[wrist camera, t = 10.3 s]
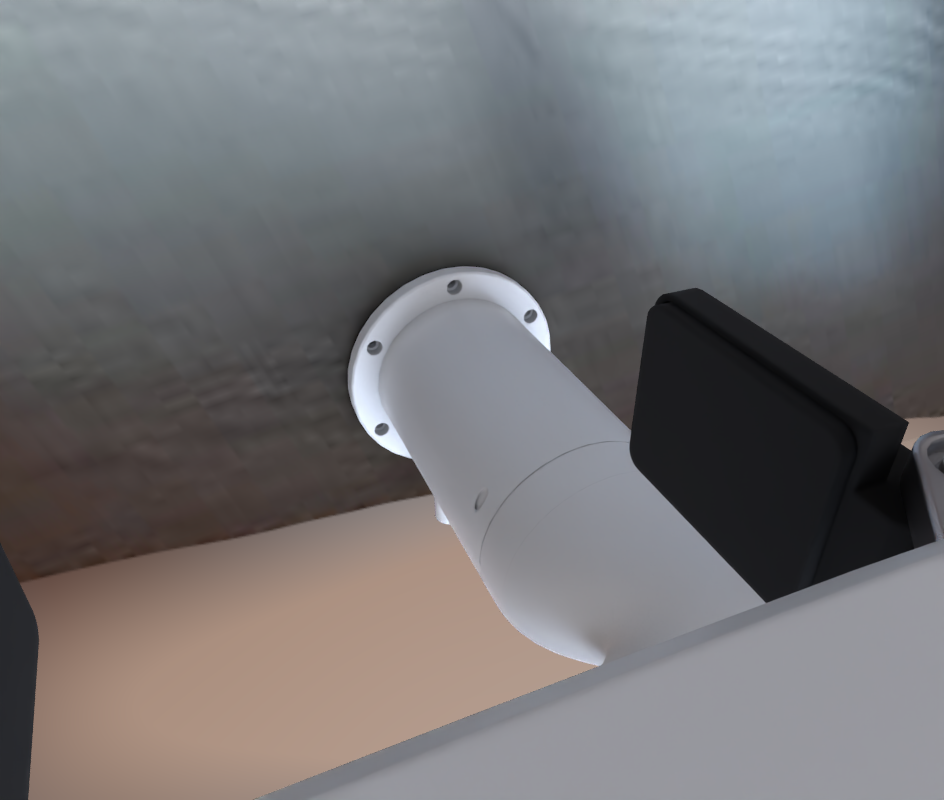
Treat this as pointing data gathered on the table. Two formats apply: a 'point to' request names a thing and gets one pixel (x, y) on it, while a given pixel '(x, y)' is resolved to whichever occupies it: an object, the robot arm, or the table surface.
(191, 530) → the table surface
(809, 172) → the table surface
